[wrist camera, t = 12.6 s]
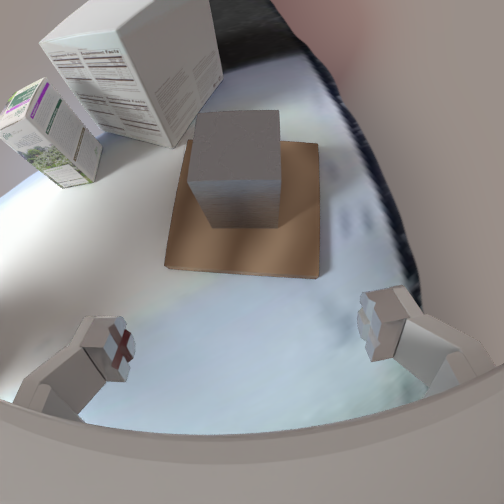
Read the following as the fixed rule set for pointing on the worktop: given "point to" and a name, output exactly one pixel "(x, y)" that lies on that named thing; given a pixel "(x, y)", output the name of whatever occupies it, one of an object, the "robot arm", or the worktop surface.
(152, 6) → the supplement box
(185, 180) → the tang block
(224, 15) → the worktop surface
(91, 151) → the syrup box
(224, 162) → the grey rectangular block
